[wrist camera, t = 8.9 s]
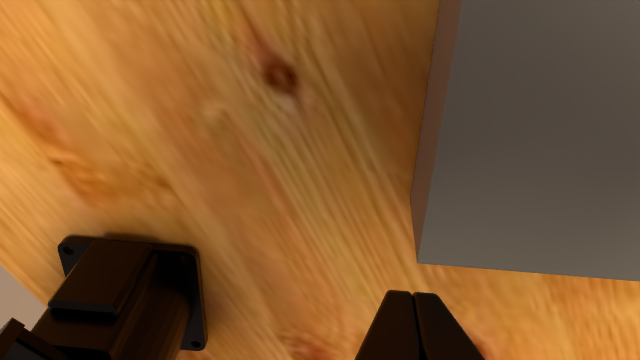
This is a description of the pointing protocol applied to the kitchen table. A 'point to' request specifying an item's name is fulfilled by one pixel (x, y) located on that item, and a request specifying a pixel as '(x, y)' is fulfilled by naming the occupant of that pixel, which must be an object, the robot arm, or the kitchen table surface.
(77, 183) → the kitchen table surface
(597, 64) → the stand
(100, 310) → the robot arm
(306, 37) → the kitchen table surface
